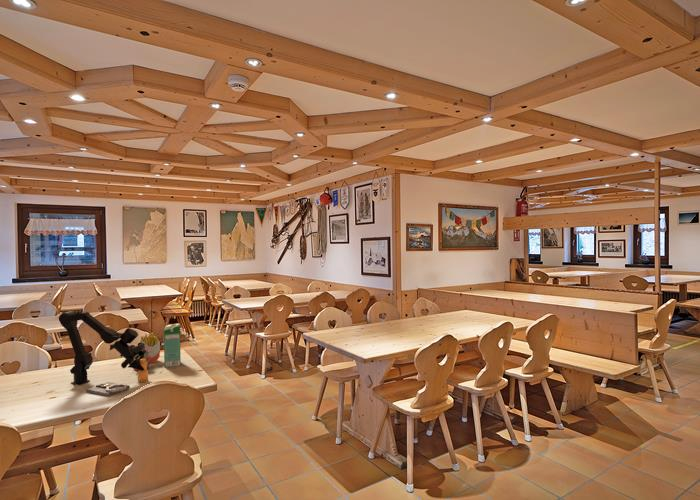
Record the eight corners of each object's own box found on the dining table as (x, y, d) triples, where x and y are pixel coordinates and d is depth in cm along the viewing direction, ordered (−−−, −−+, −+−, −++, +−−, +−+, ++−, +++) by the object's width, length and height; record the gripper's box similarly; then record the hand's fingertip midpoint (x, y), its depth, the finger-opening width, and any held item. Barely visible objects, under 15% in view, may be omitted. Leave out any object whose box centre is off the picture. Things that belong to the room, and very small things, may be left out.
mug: (128, 370, 245) (128, 352, 245) (141, 365, 254) (140, 348, 253) (144, 372, 241) (144, 354, 241) (156, 367, 250) (156, 350, 250)
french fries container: (160, 360, 265) (159, 332, 265) (145, 365, 255) (145, 336, 255) (155, 359, 267) (154, 332, 267) (140, 364, 257) (140, 335, 257)
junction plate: (86, 392, 209) (86, 387, 209) (107, 384, 220) (107, 379, 220) (112, 397, 202) (112, 392, 202) (133, 389, 214) (133, 384, 214)
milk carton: (164, 363, 258) (163, 324, 257) (179, 361, 262) (179, 322, 261) (164, 367, 250) (163, 326, 249) (180, 365, 254) (180, 325, 253)
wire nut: (135, 381, 224) (135, 360, 224) (143, 379, 229) (143, 357, 229) (142, 383, 223) (142, 361, 222) (150, 380, 227) (149, 358, 227)
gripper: (126, 343, 216) (148, 363, 217) (142, 335, 234) (162, 353, 235) (111, 358, 215) (133, 378, 216) (128, 349, 234) (148, 367, 235)
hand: (145, 369), depth 226 cm, fingers closed on wire nut, 4 cm apart
